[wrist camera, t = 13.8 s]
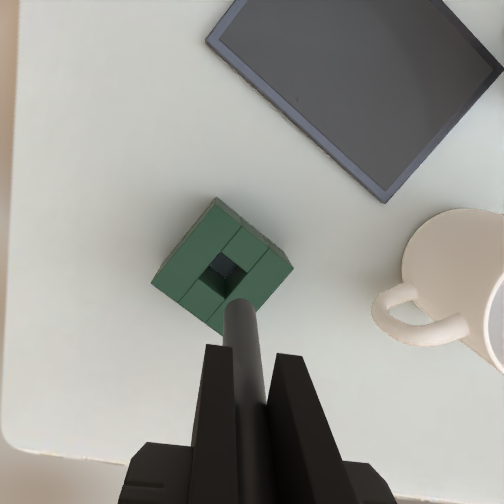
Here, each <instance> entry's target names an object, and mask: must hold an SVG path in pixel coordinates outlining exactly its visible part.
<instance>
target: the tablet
mask: <svg viewBox="0 0 504 504" xmlns="http://www.w3.org/2000/svg"><path fill="white" fill-rule="evenodd" d="M205 43H206V44H207V45H208V46H209V47H210V48H211V49H212V50H214V51H215V52H216V53H217V54H218V55H219V56H220V57H221V58H222V59H224V60H225V61H226V62H227V63H228V64H229V65H230V66H231V67H232V68H233V69H235V70H236V71H237V72H238V73H239V74H240V75H241V76H242V77H243V78H244V79H246V80H247V81H248V82H249V83H250V84H251V85H252V86H253V87H254V88H256V89H257V90H258V91H259V92H260V93H261V94H262V95H263V96H264V97H265V98H267V99H268V100H269V101H270V102H271V103H272V104H273V105H274V106H275V107H276V108H278V109H279V110H280V111H281V112H282V113H283V114H284V115H285V116H286V117H288V118H289V119H290V120H291V121H292V122H293V123H294V124H295V125H296V126H297V127H299V128H300V129H301V130H302V131H303V132H304V133H305V134H306V135H307V136H308V137H310V138H311V139H312V140H313V141H314V142H315V143H316V144H317V145H318V146H320V147H321V148H322V149H323V150H324V151H325V152H326V153H327V154H328V155H329V156H331V157H332V158H333V159H334V160H335V161H336V162H337V163H338V164H339V165H340V166H342V167H343V168H344V169H345V170H346V171H347V172H348V173H349V174H350V175H351V176H353V177H354V178H355V179H356V180H357V181H358V182H359V183H360V184H361V185H363V186H364V187H365V188H366V189H367V190H368V191H369V192H370V193H371V194H372V195H374V196H375V197H376V198H377V199H378V200H379V201H380V202H381V203H384V204H386V203H387V202H388V200H389V199H390V198H391V197H392V196H393V195H394V194H395V192H396V191H397V190H398V189H399V188H400V187H401V186H402V185H403V183H404V182H405V181H406V180H407V179H408V178H409V177H410V176H411V174H412V173H413V172H414V171H415V170H416V169H417V168H418V167H419V165H420V164H421V163H422V162H423V161H424V160H425V159H426V158H427V156H428V155H429V154H430V153H431V152H432V151H433V150H434V149H435V147H436V146H437V145H438V144H439V143H440V142H441V141H442V139H443V138H444V137H445V136H446V135H447V134H448V133H449V132H450V130H451V129H452V128H453V127H454V126H455V125H456V124H457V123H458V121H459V120H460V119H461V118H462V117H463V116H464V115H465V114H466V112H467V111H468V110H469V109H470V108H471V107H472V106H473V105H474V103H475V102H476V101H477V100H478V99H479V98H480V97H481V96H482V94H483V93H484V92H485V91H486V90H487V89H488V88H489V87H490V85H491V84H492V83H493V82H494V81H495V80H496V79H497V77H498V76H499V75H500V74H501V73H502V72H503V71H504V68H503V66H502V65H501V64H500V63H499V62H498V61H497V60H496V59H495V58H494V57H493V56H492V54H491V53H490V52H489V51H488V50H487V49H486V48H485V47H484V46H483V45H482V44H481V43H480V41H479V40H478V39H477V38H476V37H475V36H474V35H473V34H472V33H471V32H470V31H469V29H468V28H467V27H466V26H465V25H464V24H463V23H462V22H461V21H460V20H459V19H458V17H457V16H456V15H455V14H454V13H453V12H452V11H451V10H450V9H449V8H448V7H447V6H446V4H445V3H444V2H443V1H442V0H235V1H234V2H233V4H232V5H231V6H230V7H229V9H228V10H227V11H226V13H225V14H224V15H223V17H222V18H221V19H220V21H219V22H218V23H217V25H216V26H215V27H214V29H213V30H212V31H211V33H210V34H209V35H208V37H207V38H206V39H205Z"/></svg>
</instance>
